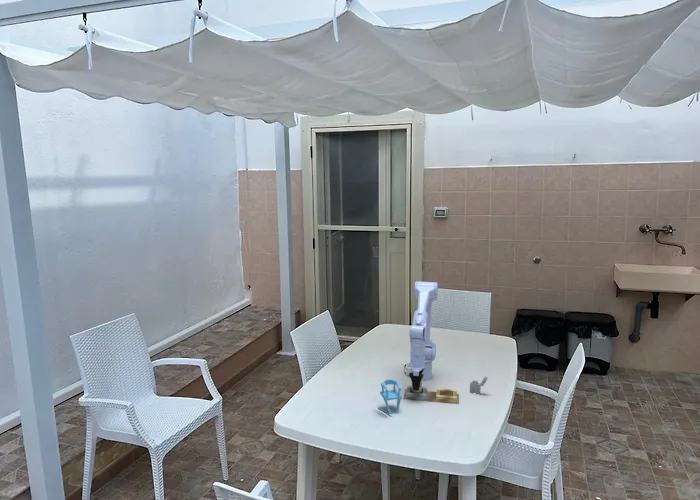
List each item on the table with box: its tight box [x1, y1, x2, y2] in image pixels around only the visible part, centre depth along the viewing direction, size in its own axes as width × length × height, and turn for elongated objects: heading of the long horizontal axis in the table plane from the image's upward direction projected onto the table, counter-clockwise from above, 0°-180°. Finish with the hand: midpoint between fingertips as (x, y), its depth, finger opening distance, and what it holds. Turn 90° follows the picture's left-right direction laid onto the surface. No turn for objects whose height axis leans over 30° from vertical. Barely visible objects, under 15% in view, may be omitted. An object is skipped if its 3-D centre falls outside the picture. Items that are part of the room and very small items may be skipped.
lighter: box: [469, 375, 489, 395], centre depth 208 cm, size 7×2×8 cm, turn 63°
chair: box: [377, 379, 403, 418], centre depth 191 cm, size 8×8×12 cm
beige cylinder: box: [411, 380, 423, 394], centre depth 204 cm, size 4×4×8 cm
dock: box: [402, 385, 460, 405], centre depth 203 cm, size 22×10×3 cm, turn 79°
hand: (416, 386), depth 204 cm, fingers open, 7 cm apart
